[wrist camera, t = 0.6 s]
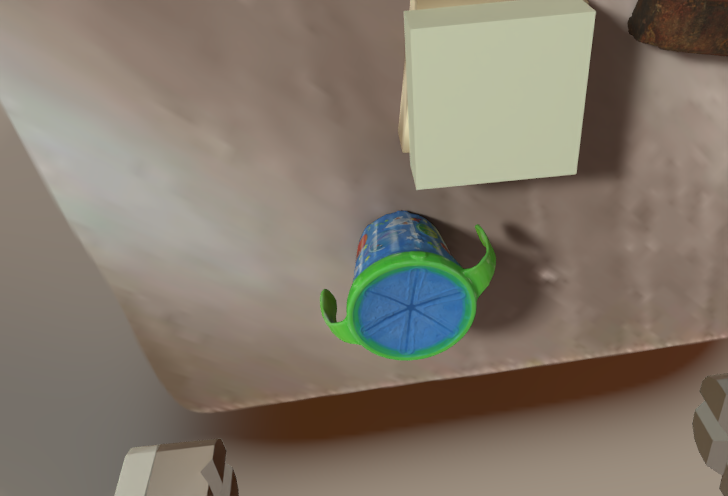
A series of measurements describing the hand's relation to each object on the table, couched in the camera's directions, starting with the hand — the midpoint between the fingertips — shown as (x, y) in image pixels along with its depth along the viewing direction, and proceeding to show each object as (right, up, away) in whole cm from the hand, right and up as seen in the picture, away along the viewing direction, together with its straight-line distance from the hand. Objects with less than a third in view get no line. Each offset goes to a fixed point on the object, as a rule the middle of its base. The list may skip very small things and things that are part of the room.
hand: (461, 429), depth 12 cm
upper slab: (+8, +15, +39) cm, 42 cm away
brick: (+24, +21, +40) cm, 51 cm away
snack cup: (+2, +4, +51) cm, 51 cm away
